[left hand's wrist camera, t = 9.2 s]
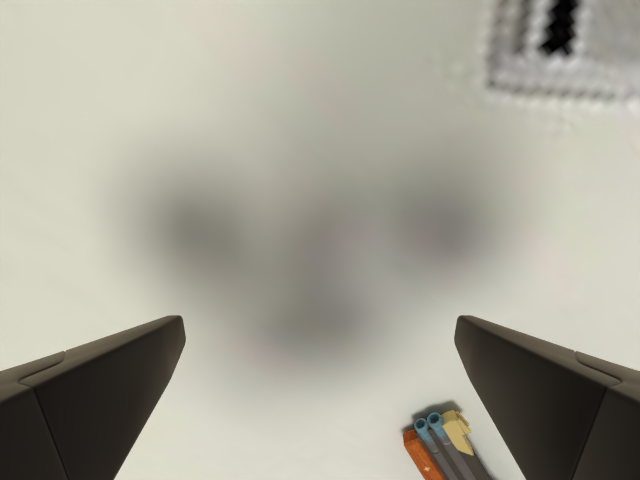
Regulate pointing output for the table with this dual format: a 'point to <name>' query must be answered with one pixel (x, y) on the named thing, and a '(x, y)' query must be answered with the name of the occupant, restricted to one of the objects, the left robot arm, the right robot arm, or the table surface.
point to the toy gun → (443, 448)
